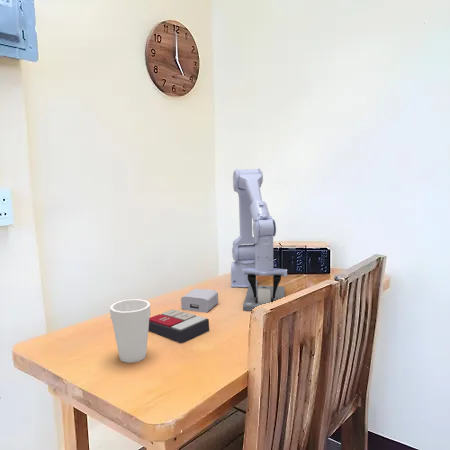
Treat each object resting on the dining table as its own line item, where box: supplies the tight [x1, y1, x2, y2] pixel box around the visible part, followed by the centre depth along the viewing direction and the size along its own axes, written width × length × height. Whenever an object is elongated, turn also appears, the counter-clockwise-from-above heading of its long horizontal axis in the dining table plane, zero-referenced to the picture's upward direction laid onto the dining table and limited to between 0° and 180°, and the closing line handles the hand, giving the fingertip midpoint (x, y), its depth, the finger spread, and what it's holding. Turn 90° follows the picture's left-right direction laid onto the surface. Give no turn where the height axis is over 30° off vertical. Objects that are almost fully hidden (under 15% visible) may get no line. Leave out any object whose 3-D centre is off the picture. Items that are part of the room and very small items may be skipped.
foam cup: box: [109, 298, 151, 364], centre depth 101 cm, size 10×9×13 cm
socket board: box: [242, 285, 286, 312], centre depth 141 cm, size 13×22×2 cm, turn 172°
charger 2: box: [257, 284, 272, 304], centre depth 136 cm, size 4×4×6 cm
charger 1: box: [180, 288, 219, 313], centre depth 139 cm, size 5×9×15 cm
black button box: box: [148, 308, 210, 344], centre depth 117 cm, size 11×4×15 cm
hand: (264, 296), depth 136 cm, fingers open, 5 cm apart
